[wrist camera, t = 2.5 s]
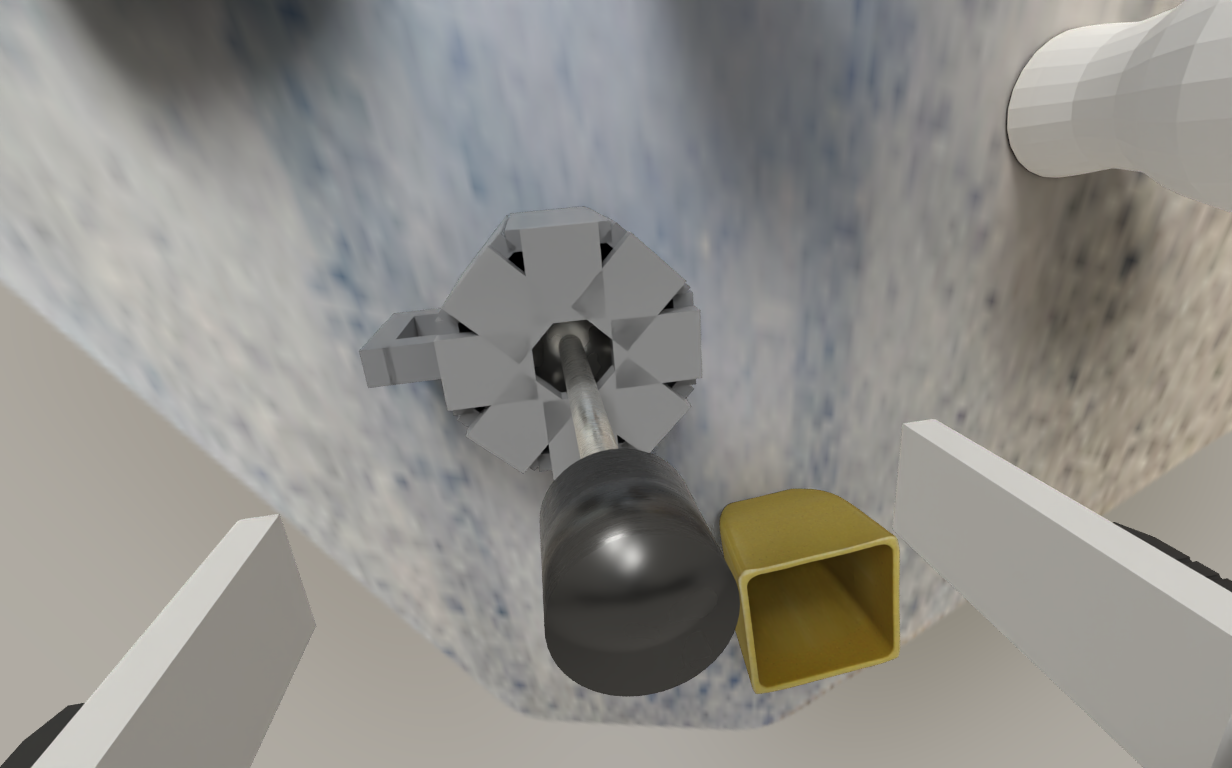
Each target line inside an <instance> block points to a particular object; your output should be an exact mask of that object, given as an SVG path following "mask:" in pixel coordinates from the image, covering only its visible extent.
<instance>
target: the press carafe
mask: <svg viewBox="0 0 1232 768" xmlns="http://www.w3.org/2000/svg"><path fill="white" fill-rule="evenodd" d="M685 282H686V280H685V279H684V278H682V277H681V276H680V275H679V274H678V273H677V272H676V271H674V270H673V269H672V268H671V267H670V266H669V265H668V264H667V263H665V262H664V261H663V260H662V259H661V258H660V257H659V256H657V255H656V254H655V253H654V252H653V251H652V250H651V249H649V248H648V247H647V246H646V245H645V244H644V243H643V242H641V241H640V240H639V239H638V238H637V237H636V236H635V235H634V234H632V233H631V232H629V231H626V230H624V229H623V228H622V227H621V226H620V225H619V224H618V223H616V222H615V221H613V220H611V219H609V218H607V217H605V216H603V215H601V214H599V213H598V212H596V211H594V210H592V209H590V208H586V207H584V206H582V207H572V208H561V209H551V210H540V211H529V212H519V213H510V216H509V217H508V216H506V217H505V218H504V220H503V221H502V222H501V224H500V225H499V226H498V227H497V229H496V230H495V231H494V233H493V234H492V235H491V237H490V238H489V239H488V241H487V242H486V243H485V245H484V246H483V247H482V249H481V250H480V251H479V252H478V254H477V255H476V256H475V258H474V259H473V260H472V262H471V263H470V264H469V266H468V267H467V268H466V270H465V271H464V272H463V274H462V275H461V277H460V278H459V280H458V282H457V283H456V285H455V287H454V288H453V290H452V291H451V293H450V295H449V296H448V298H447V300H446V301H445V303H444V304H443V306H442V308H438V309H429V310H420V311H411V312H402V313H394V314H393V315H392V316H391V317H390V318H389V319H388V320H387V321H386V322H385V323H384V324H383V326H382V327H381V328H380V329H379V330H378V331H377V332H376V333H375V334H374V335H373V336H372V337H371V338H370V340H369V341H368V342H367V343H366V344H365V345H364V346H363V347H362V348H361V349H360V350H359V353H360V357H361V361H362V365H363V369H364V373H365V377H366V381H367V385H368V388H372V387H380V386H388V385H396V384H405V383H413V382H421V381H429V380H437V379H441V381H442V386H443V391H444V396H445V401H446V406H447V411H451V410H453V414H454V416H456V415H458V418H457V421H459V422H460V423H462V424H463V425H465V426H466V427H468V429H467V433H466V437H467V438H468V439H470V440H471V441H473V442H474V443H476V444H478V445H479V446H481V447H482V448H484V449H485V450H487V451H488V452H490V453H492V454H493V455H495V456H496V457H498V458H499V459H501V460H502V461H504V462H505V463H507V464H509V465H510V466H512V467H513V468H515V469H516V470H518V471H519V472H521V473H523V474H524V472H525V471H526V470H527V469H528V468H531V469H532V470H534V471H535V469H536V468H537V467H538V466H539V471H540V472H542V471H549V470H552V473H553V480H555V479H556V478H557V477H558V476H559V475H560V474H561V473H562V472H563V471H564V470H565V469H567V468H568V467H569V466H570V465H572V464H573V463H575V462H576V461H578V460H580V459H581V458H580V453H579V448H578V443H577V438H576V433H575V428H574V423H573V418H572V413H571V408H570V403H569V398H568V393H567V392H559V391H558V390H557V389H555V388H554V387H553V386H551V385H550V384H548V383H547V382H546V381H544V380H543V379H541V378H540V377H539V376H537V375H536V373H535V366H534V358H533V351H532V348H533V347H534V346H535V345H536V343H537V342H538V341H539V340H540V339H541V337H542V336H543V335H544V334H545V332H546V331H547V330H548V329H549V327H550V326H551V325H552V324H553V323H560V322H569V321H578V320H586V319H587V320H588V321H589V322H591V323H592V324H593V325H594V326H596V327H597V328H598V329H599V330H601V331H602V332H603V333H605V334H606V335H607V336H608V337H610V345H611V356H612V366H611V367H610V368H609V369H608V370H607V372H606V373H605V374H604V375H603V376H602V378H601V379H600V380H599V381H598V382H597V383H596V385H597V388H598V391H599V394H600V397H601V400H602V403H603V406H604V409H605V412H606V414H607V417H608V420H609V423H610V426H611V429H612V432H613V435H614V438H615V441H616V443H617V446H618V449H619V448H623V449H635V450H641V451H645V452H648V453H650V452H651V451H652V450H653V449H654V448H655V447H656V446H657V444H658V443H659V442H660V441H661V440H662V439H663V438H664V437H665V435H666V434H667V433H668V432H669V431H670V430H671V429H672V428H673V426H674V425H675V424H676V423H677V422H678V421H679V420H680V419H681V417H682V416H683V415H684V414H685V413H686V412H687V411H688V410H689V408H690V407H691V405H690V404H689V402H688V401H687V400H686V397H687V396H688V395H689V394H690V393H691V392H692V391H693V390H694V388H693V387H692V386H691V385H693V384H696V379H698V378H702V358H701V326H700V310H699V309H698V308H697V307H695V306H693V292H692V291H690V290H689V288H690V287H689V286H688V285H687V284H686V283H685Z"/></svg>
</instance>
